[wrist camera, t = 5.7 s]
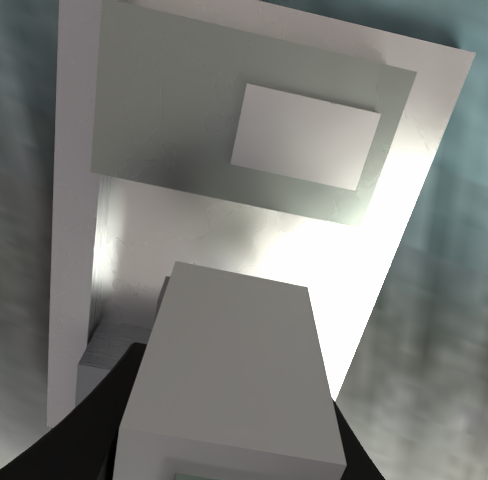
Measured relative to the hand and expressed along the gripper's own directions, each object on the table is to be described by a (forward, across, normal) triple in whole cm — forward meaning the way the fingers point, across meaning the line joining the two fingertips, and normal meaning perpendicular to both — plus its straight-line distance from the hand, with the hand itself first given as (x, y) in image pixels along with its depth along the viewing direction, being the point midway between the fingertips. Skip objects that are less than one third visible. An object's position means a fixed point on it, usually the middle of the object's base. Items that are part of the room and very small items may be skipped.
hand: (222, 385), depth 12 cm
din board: (+8, 0, 0) cm, 8 cm away
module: (+2, 0, 0) cm, 2 cm away
